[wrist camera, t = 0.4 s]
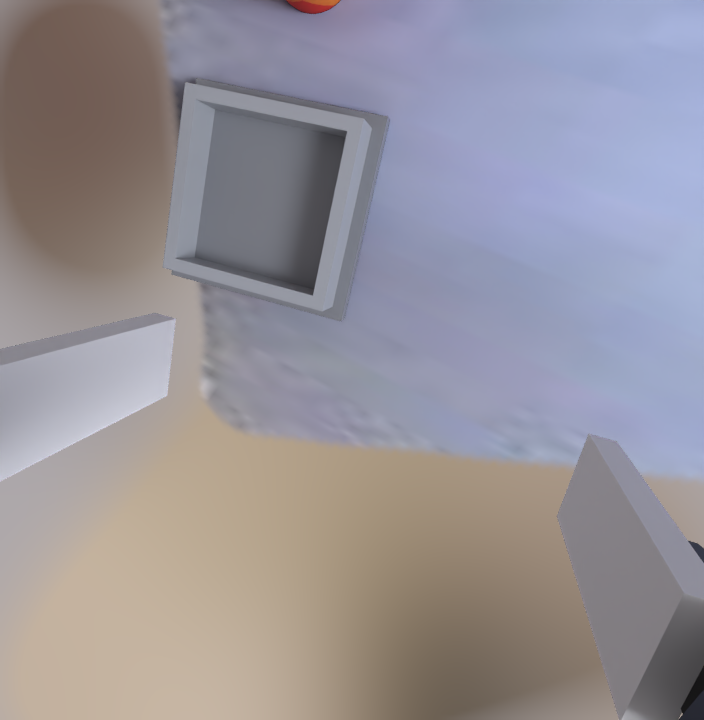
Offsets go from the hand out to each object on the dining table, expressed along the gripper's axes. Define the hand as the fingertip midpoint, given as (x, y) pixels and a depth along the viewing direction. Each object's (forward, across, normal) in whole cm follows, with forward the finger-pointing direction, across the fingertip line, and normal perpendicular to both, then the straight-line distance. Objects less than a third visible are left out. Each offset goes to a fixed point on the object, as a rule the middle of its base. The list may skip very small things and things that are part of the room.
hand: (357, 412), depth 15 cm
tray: (+27, -14, +5) cm, 31 cm away
